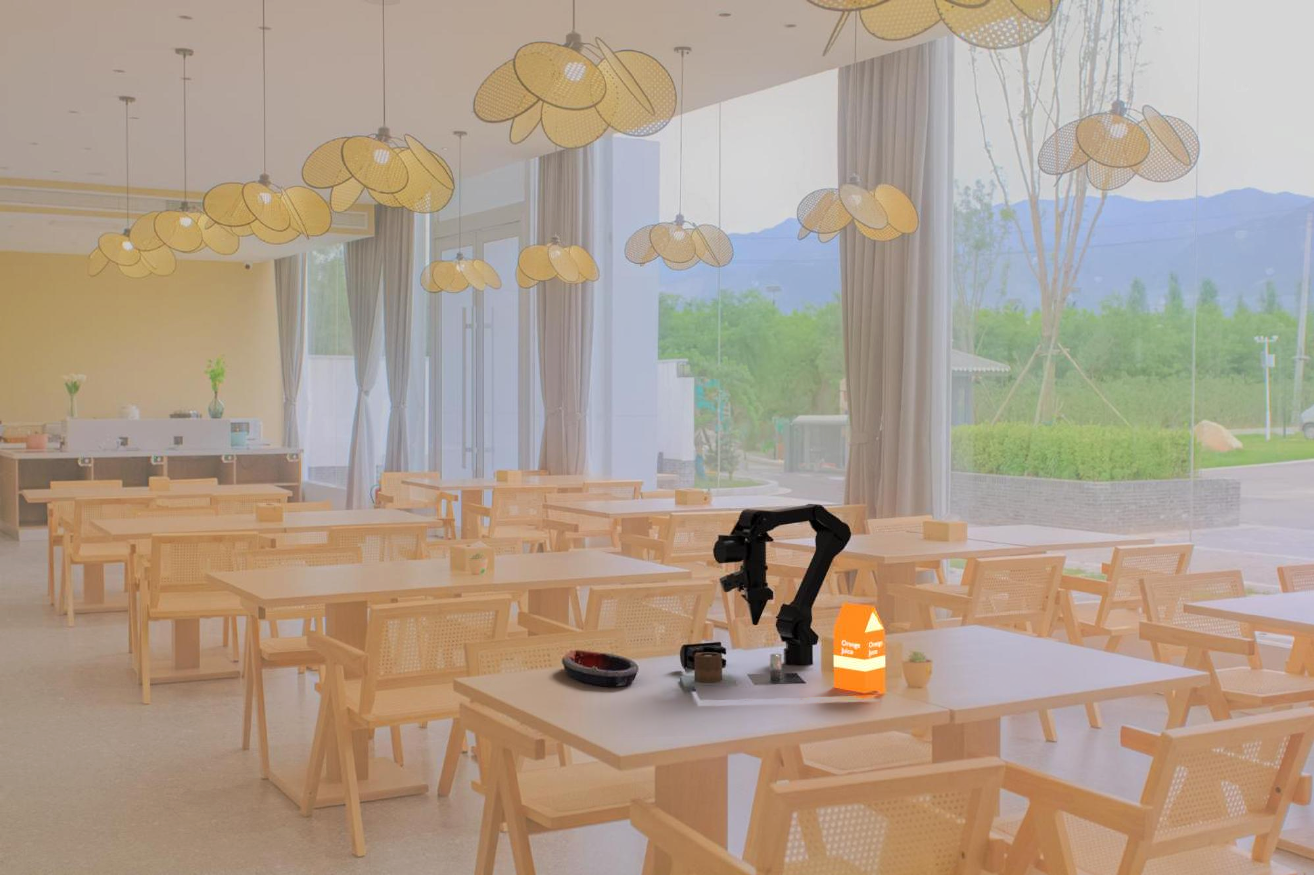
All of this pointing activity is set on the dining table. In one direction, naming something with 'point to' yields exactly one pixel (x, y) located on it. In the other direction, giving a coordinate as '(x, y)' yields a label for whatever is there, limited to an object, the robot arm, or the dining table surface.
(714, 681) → the sleeve
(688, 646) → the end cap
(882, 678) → the orange juice
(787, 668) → the dining table surface
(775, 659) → the stand
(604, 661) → the dish
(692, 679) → the grey peg base
